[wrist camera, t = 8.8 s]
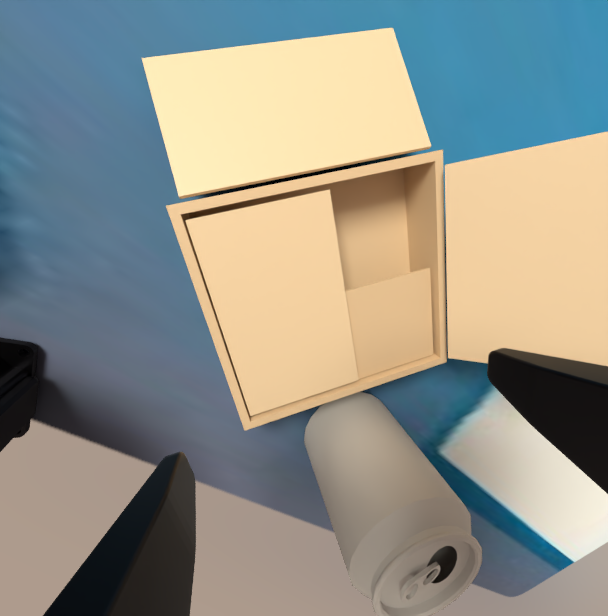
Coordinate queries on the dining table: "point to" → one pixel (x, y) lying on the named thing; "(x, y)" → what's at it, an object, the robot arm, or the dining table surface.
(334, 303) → the carton
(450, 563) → the can
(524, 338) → the flap
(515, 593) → the dining table surface
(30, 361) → the robot arm
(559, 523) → the dining table surface
